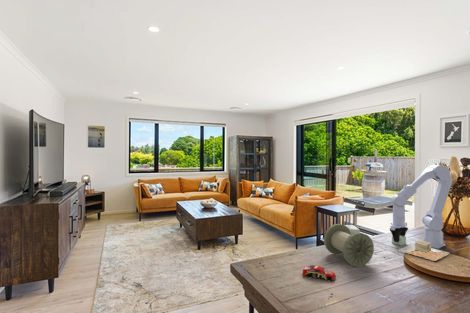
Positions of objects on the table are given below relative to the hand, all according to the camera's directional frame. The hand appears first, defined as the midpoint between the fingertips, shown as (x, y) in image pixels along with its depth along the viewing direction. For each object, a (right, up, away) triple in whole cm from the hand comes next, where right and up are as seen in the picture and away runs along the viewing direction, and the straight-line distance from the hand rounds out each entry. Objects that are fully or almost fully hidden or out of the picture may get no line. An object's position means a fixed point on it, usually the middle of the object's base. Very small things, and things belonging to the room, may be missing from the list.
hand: (398, 240), depth 148 cm
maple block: (+3, -1, -14) cm, 15 cm away
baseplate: (+3, -2, -14) cm, 15 cm away
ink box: (-30, -2, -7) cm, 31 cm away
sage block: (0, -1, 0) cm, 1 cm away
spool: (-38, -3, -21) cm, 43 cm away
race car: (-57, -3, -38) cm, 68 cm away
